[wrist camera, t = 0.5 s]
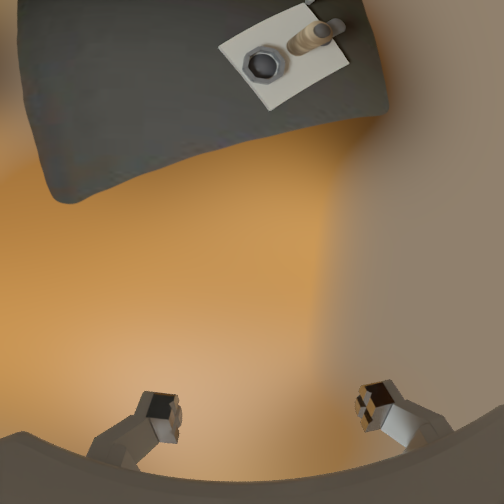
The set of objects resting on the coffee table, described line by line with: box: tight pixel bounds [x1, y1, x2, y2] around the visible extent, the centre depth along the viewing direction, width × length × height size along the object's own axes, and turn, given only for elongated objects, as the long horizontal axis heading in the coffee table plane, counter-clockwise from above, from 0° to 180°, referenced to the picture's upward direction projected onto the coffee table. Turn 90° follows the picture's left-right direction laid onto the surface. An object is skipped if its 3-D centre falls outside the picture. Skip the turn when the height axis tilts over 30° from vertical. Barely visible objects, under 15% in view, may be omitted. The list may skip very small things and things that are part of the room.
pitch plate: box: [218, 3, 349, 111], centre depth 37 cm, size 16×20×10 cm
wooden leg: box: [286, 21, 333, 56], centre depth 33 cm, size 4×4×13 cm
